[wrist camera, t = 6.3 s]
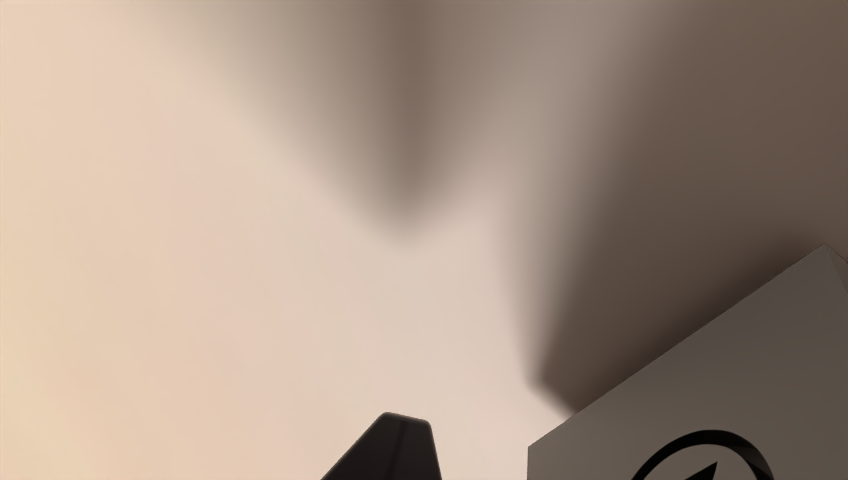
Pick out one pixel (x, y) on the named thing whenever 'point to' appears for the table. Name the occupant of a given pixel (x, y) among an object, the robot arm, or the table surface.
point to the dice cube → (727, 395)
